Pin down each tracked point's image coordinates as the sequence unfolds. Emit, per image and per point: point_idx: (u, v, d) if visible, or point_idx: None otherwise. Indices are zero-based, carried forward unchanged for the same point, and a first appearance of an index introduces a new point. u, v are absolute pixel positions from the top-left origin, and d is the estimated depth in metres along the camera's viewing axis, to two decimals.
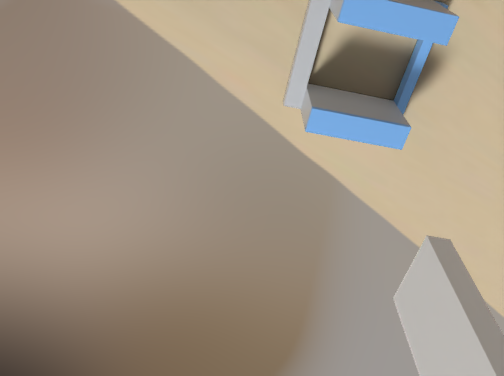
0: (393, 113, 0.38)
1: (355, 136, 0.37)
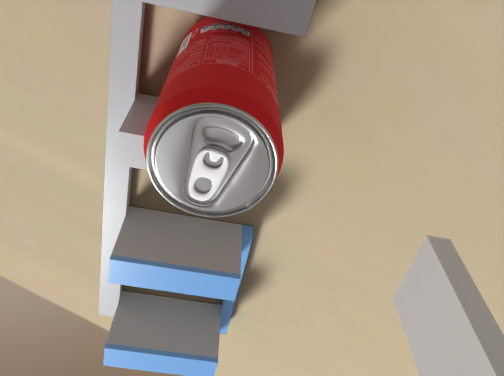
0: (208, 334, 0.35)
1: (159, 369, 0.34)
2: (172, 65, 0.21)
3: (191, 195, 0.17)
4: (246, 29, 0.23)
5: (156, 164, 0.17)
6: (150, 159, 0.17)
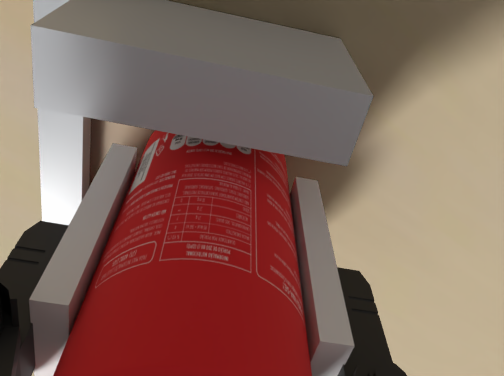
0: None
1: None
2: (119, 213, 0.12)
3: None
4: None
5: None
6: None
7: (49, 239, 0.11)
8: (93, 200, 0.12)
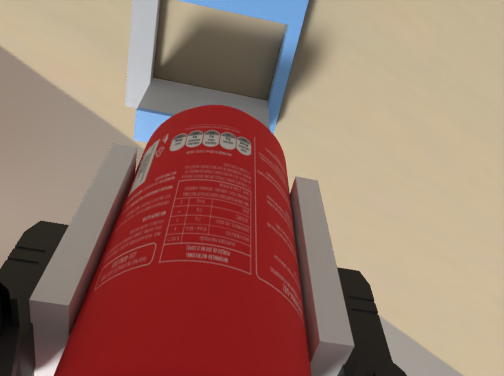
0: (256, 116, 0.30)
1: None
2: (119, 214, 0.12)
3: None
4: (245, 139, 0.14)
5: None
6: None
7: (49, 239, 0.11)
8: (94, 200, 0.12)
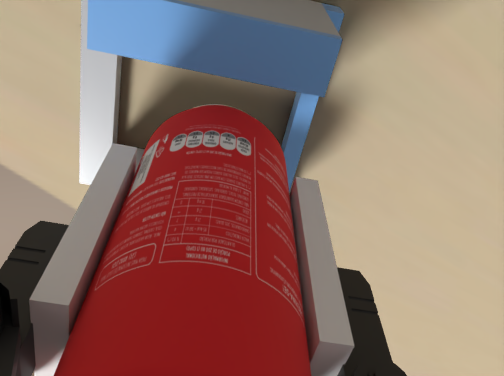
0: None
1: None
2: (119, 214, 0.12)
3: None
4: (245, 139, 0.14)
5: None
6: None
7: (49, 239, 0.11)
8: (94, 201, 0.12)
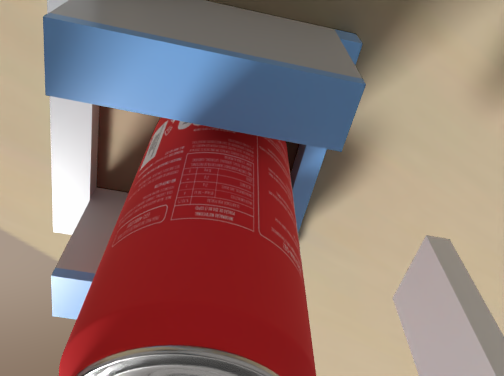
0: None
1: None
2: (132, 186, 0.13)
3: None
4: None
5: None
6: None
7: None
8: None
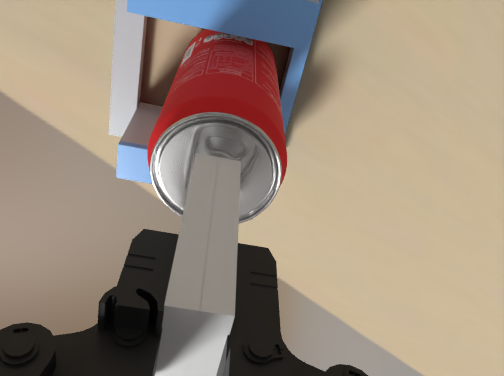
0: None
1: None
2: (176, 75, 0.21)
3: None
4: (249, 38, 0.23)
5: (160, 173, 0.17)
6: (154, 168, 0.17)
7: (156, 246, 0.12)
8: (194, 210, 0.12)
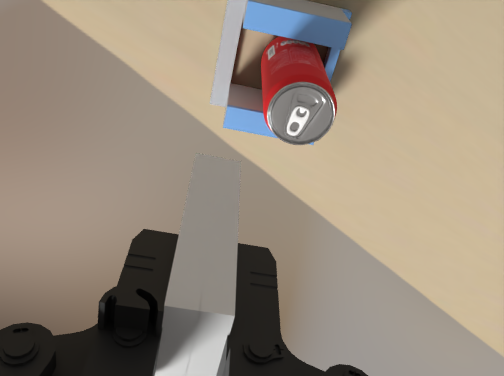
0: None
1: (269, 132, 0.40)
2: (267, 64, 0.37)
3: (288, 132, 0.33)
4: (307, 43, 0.38)
5: (272, 114, 0.32)
6: (269, 112, 0.32)
7: (156, 246, 0.12)
8: (194, 210, 0.12)
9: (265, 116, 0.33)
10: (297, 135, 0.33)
